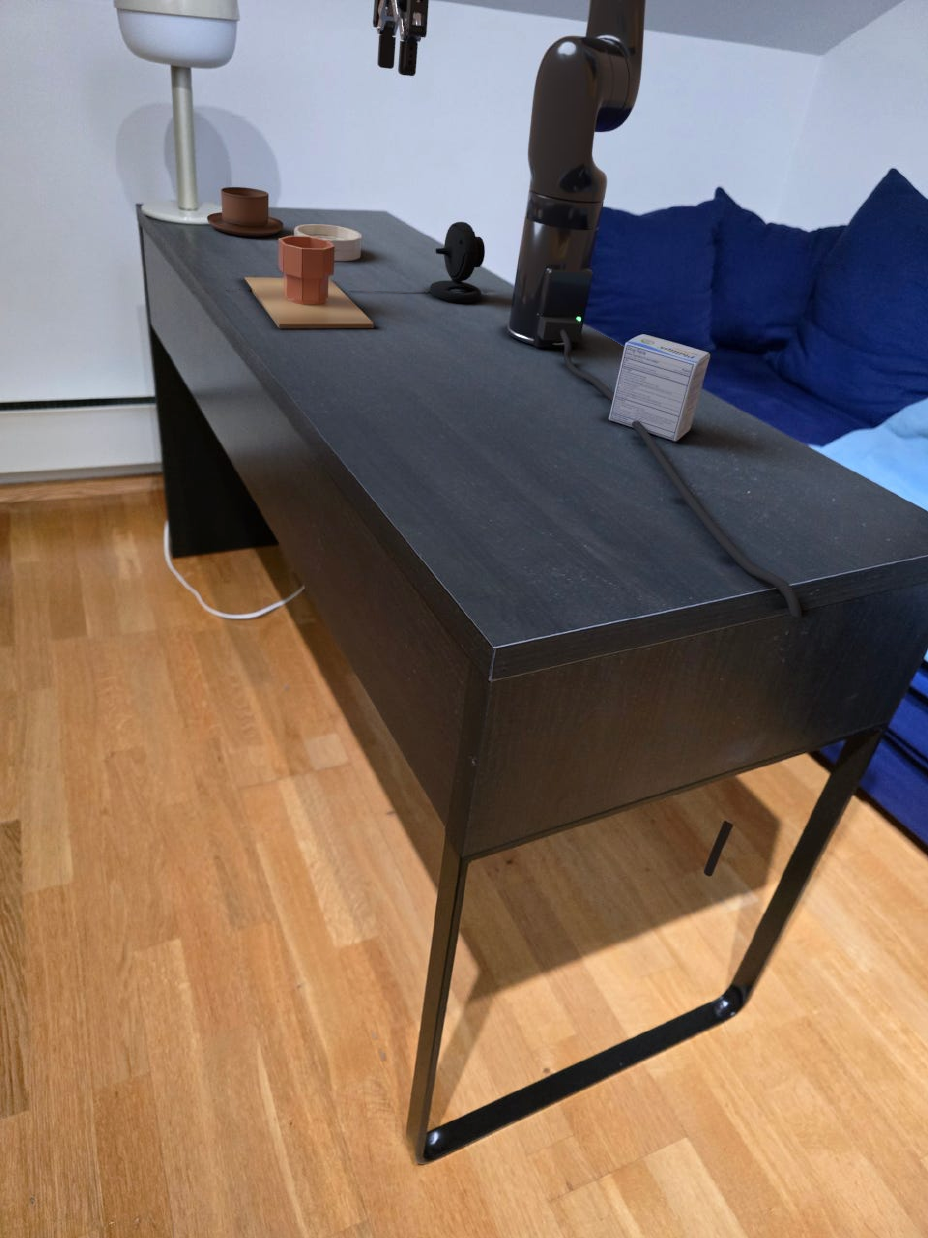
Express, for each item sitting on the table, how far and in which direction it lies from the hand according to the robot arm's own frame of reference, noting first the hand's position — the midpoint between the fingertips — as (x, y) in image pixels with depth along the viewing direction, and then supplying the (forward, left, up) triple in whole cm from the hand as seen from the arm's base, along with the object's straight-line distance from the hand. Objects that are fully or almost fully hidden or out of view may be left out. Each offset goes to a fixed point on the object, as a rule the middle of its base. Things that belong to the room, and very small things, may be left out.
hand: (395, 71), depth 119 cm
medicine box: (-59, -10, -26) cm, 65 cm away
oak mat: (-16, +16, -26) cm, 35 cm away
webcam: (-12, -7, -26) cm, 30 cm away
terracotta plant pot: (-16, +16, -26) cm, 34 cm away
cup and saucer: (+22, +16, -26) cm, 38 cm away
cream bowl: (+9, +6, -26) cm, 28 cm away
